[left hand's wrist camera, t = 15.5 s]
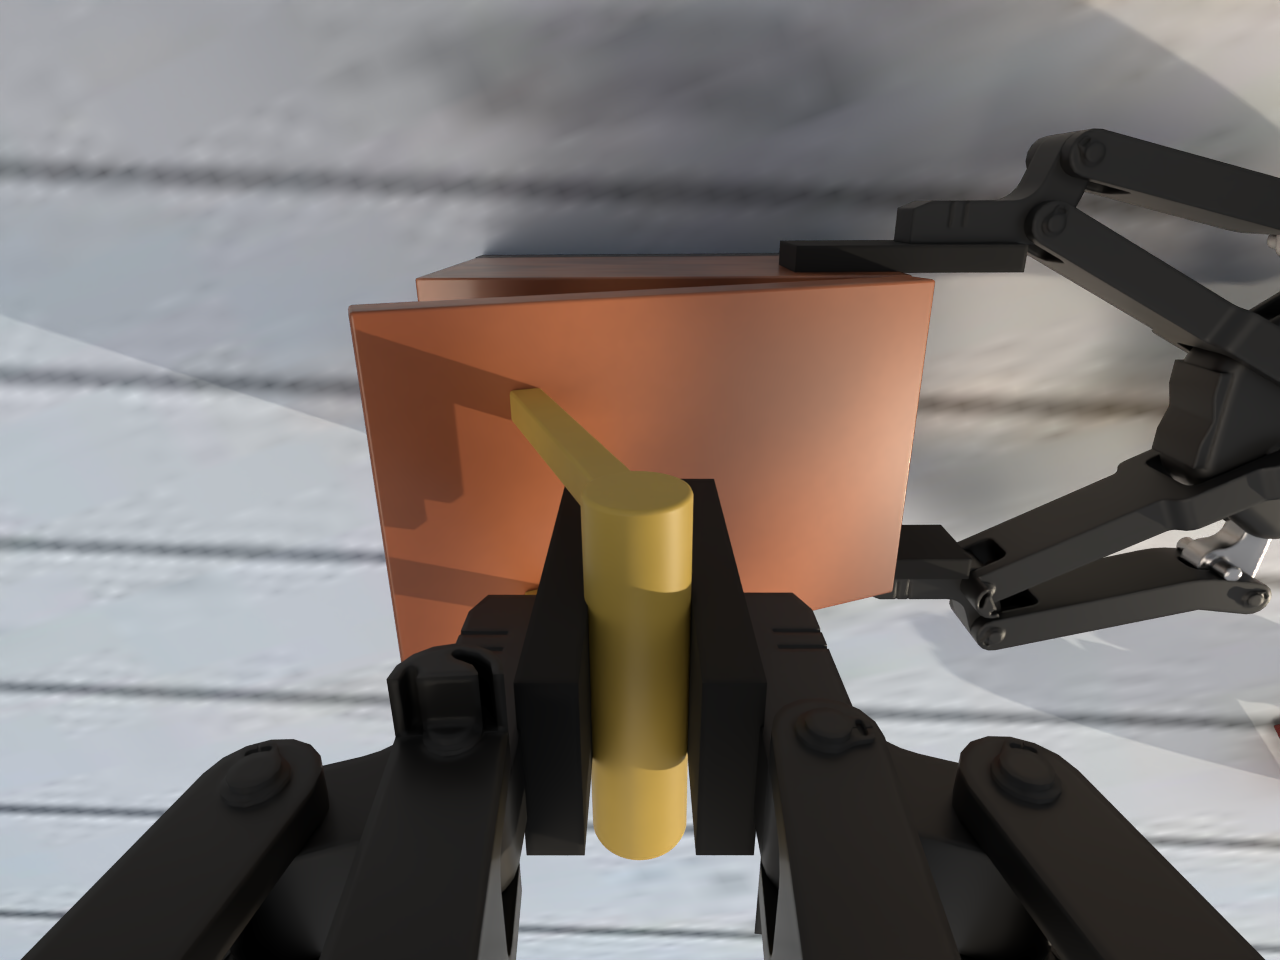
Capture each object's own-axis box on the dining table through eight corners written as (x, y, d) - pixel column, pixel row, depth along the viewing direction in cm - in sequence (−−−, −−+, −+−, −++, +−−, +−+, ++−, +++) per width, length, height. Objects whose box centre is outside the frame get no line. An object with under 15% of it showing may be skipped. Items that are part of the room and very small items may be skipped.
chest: (500, 477, 31) (448, 575, 23) (481, 255, 28) (414, 277, 20) (815, 476, 31) (875, 574, 23) (835, 252, 28) (913, 274, 20)
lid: (404, 680, 18) (450, 1013, 11) (347, 304, 15) (357, 408, 7) (869, 575, 23) (1125, 755, 15) (906, 275, 19) (1255, 320, 12)
